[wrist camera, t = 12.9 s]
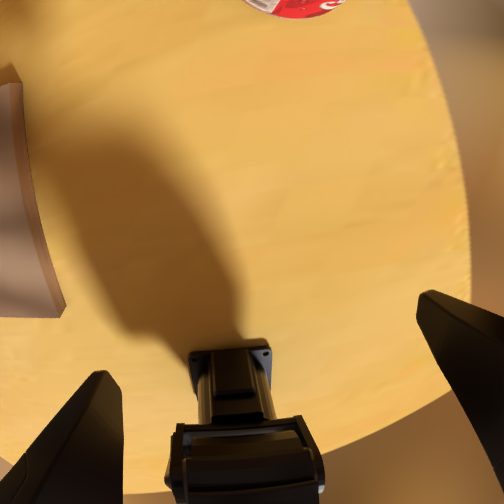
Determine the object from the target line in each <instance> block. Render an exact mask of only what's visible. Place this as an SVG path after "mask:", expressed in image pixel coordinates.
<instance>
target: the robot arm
mask: <svg viewBox="0 0 504 504" xmlns="http://www.w3.org/2000/svg"><path fill="white" fill-rule="evenodd" d="M416 319H417V323H418V325H419V327H420V329H421V331H422V333H423V335H424V337H425V339H426V341H427V343H428V345H429V347H430V350H431V352H432V354H433V356H434V358H435V360H436V362H437V364H438V366H439V367H440V369H441V371H442V373H443V374H444V376H445V378H446V379H447V381H448V383H449V384H450V386H451V388H452V390H453V391H454V393H455V395H456V397H457V398H458V400H459V402H460V404H461V406H462V407H463V409H464V411H465V413H466V415H467V417H468V419H469V421H470V422H471V424H472V426H473V428H474V430H475V432H476V434H477V436H478V438H479V440H480V442H481V444H482V446H483V448H484V450H485V452H486V454H487V456H488V458H489V461H490V463H491V465H492V467H493V470H494V472H495V474H496V476H497V479H498V481H499V483H500V486H501V488H502V490H503V493H504V317H502V316H499V315H497V314H495V313H492V312H490V311H487V310H485V309H482V308H479V307H477V306H474V305H472V304H469V303H467V302H464V301H462V300H459V299H456V298H454V297H451V296H449V295H446V294H444V293H441V292H438V291H436V290H428V291H425V292H422V293H421V294H420V295H419V299H418V306H417V313H416ZM264 352H266V353H264ZM194 358H195V359H194ZM188 362H189V366H190V371H191V375H192V379H193V384H194V388H195V392H196V396H197V400H198V419H199V424H185V423H177V424H176V432H174V433H173V435H172V436H171V450H170V458H169V462H168V465H167V469H166V473H165V477H164V481H165V484H166V485H167V486H168V487H169V488H170V489H171V490H172V492H173V495H174V497H175V500H176V503H177V504H319V494H320V493H322V492H323V490H324V486H325V471H324V465H323V460H322V457H321V454H320V452H319V449H318V447H317V445H316V443H315V441H314V439H313V437H312V435H311V433H310V431H309V429H308V427H307V425H306V423H305V421H304V419H303V417H302V415H296V416H293V417H290V418H282V419H277V418H276V414H275V410H274V405H273V401H272V397H271V370H272V351H271V348H270V347H269V346H259V347H250V348H239V349H227V350H215V351H200V352H191V353H189V355H188ZM123 450H124V432H123V412H122V392H121V389H120V387H119V386H118V385H117V383H116V382H115V380H114V379H113V378H112V376H111V375H110V373H109V372H108V371H106V370H100V371H94V372H93V373H92V374H91V375H90V376H89V377H88V378H87V379H86V380H85V382H84V383H83V384H82V385H81V386H80V387H79V389H78V390H77V391H76V392H75V393H74V394H73V395H72V397H71V398H70V399H69V400H68V401H67V402H66V404H65V405H64V406H63V407H62V408H61V409H60V411H59V412H58V413H57V414H56V415H55V417H54V418H53V419H52V420H51V421H50V422H49V424H48V425H47V426H46V427H45V428H44V430H43V431H42V432H41V433H40V434H39V436H38V437H37V438H36V439H35V441H34V442H33V443H32V444H31V445H30V447H29V448H28V449H27V450H26V453H24V454H23V455H22V456H21V458H20V459H19V460H18V461H17V463H16V464H15V465H14V466H13V467H12V469H11V470H10V471H9V472H8V473H7V474H6V475H5V477H4V478H3V479H2V480H1V481H0V504H123Z"/></svg>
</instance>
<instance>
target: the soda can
mask: <svg viewBox="0 0 504 504" xmlns="http://www.w3.org/2000/svg"><path fill="white" fill-rule="evenodd" d="M243 1H244V2H245V3H247V4H248V5H250V6H251V7H253V8H255V9H257V10H258V11H261V12H263V13H266V14H269V15H272V16H275V17H279V18H286V19H308V18H313V17H317V16H320V15H323V14H325V13H327V12H329V11H331V10H332V9H334V8H336V7H337V6H339V5H340V4H342V3H343V2H345V1H346V0H243Z"/></svg>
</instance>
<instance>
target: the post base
mask: <svg viewBox="0 0 504 504" xmlns="http://www.w3.org/2000/svg"><path fill="white" fill-rule="evenodd" d="M65 308H66V303H65V300H64V298H63V295H62V292H61V289H60V286H59V283H58V280H57V277H56V274H55V271H54V268H53V265H52V261H51V258H50V255H49V251H48V248H47V244H46V241H45V237H44V233H43V229H42V225H41V221H40V217H39V213H38V208H37V203H36V199H35V194H34V189H33V183H32V178H31V172H30V165H29V159H28V151H27V144H26V135H25V124H24V112H23V93H22V83H7V84H5V85H2V86H0V317H16V318H60V317H61V315H62V313H63V311H64V309H65Z"/></svg>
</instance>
